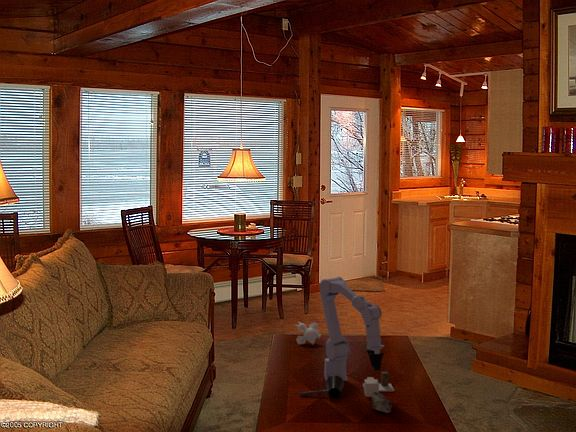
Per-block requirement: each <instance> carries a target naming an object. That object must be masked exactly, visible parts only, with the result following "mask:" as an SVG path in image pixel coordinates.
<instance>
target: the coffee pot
mask: <svg viewBox="0 0 576 432" xmlns="http://www.w3.org/2000/svg"><path fill="white" fill-rule="evenodd" d="M325 385H326V388H327V389H324V390H323V389H320V390H317V391H316V390H309V391H305V392H304V391H302V390H300V392H299V396H300V397H309V396H314V395H317V394H324V393H327V395H328V396H329V398H330V399H338V398H340V396H341V395H342V394H341V392H342V390H343V389H344V387H345V381H343V379H342V378H341V377H339V376H336V375H333V376H330V377H329V378H328V379H327V381H326V380H325Z"/></svg>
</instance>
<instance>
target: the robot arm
mask: <svg viewBox="0 0 576 432" xmlns="http://www.w3.org/2000/svg"><path fill="white" fill-rule="evenodd" d="M318 289H319V292H320V293H319V294H320V300H321V305H322V309H323V310H322V311H323V312H324V314H323V315H324V318H325V323H326V328H327V332H328V336H329V337H328V339H327V340H326V342H325V353H326V357H327V358H324V371H323V376H324V380H325V382H326V381H327V379H328V378H329V377H330V376H333V375H336V376H339V377H341V378H342V379H343V381H344V382H348V381H349V380H348V377H347V359H348V356H350V354H351V347H350V344H349V342H348V339H347V338H346V337H345V336H343V335H342V331H341V326H340V321H339V317H338V312H337V308H336V307H337V306H336V303H335V299H336V298H337V296H339V295H342V296H343V297H344V298H346V299H347V300H349V301H350V302H351V305H352V307H353V308H354V309H355V310H357V312H359V314H360V315H361V319H362V320H363V324H364V325H365V333H366V334H365V335H366V337H365V338H366V352H367V353H366V354H367V355H368V358H369V360H370V364H371V367H372V368H373V369H374V371H381V368H382V361H383V357H384V354H385V353H383V352H381V349H382V348H385V344H382V339H381V338H382V337H381V330H380V319H381V318H382V310H381V307H380V306H379V305H377V304H372V303H371V302H370V301H369V300H367V299H366V298H365V296H363V295H359V294H358V295H357V294H356V293H355V292H354V291H353V290H352V289H351V288H350V287H349V286H348V285H347V283H346V280H344V279H343V278H342V277H341V276H337V277H331V278H323V279H322V280H321V281H320V283H319V285H318Z"/></svg>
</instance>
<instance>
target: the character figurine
mask: <svg viewBox="0 0 576 432" xmlns="http://www.w3.org/2000/svg"><path fill="white" fill-rule="evenodd" d="M297 322H298V324H294V326H295V327H297V329H298V331H300V332H301V333H303V335H297V337H296V340H295V341H296V342H297V344H298V345H304V344H306V342H308V343H309V344H311V346H313V345H315V343H316V339H320V338H321V337H322V334H321V333H320V332H319V331H318V330H319V323H317V322H314V321H313V322H310V324H308V326H309V327H307V325H306V324H305V323H303V322H300V321H297Z"/></svg>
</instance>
